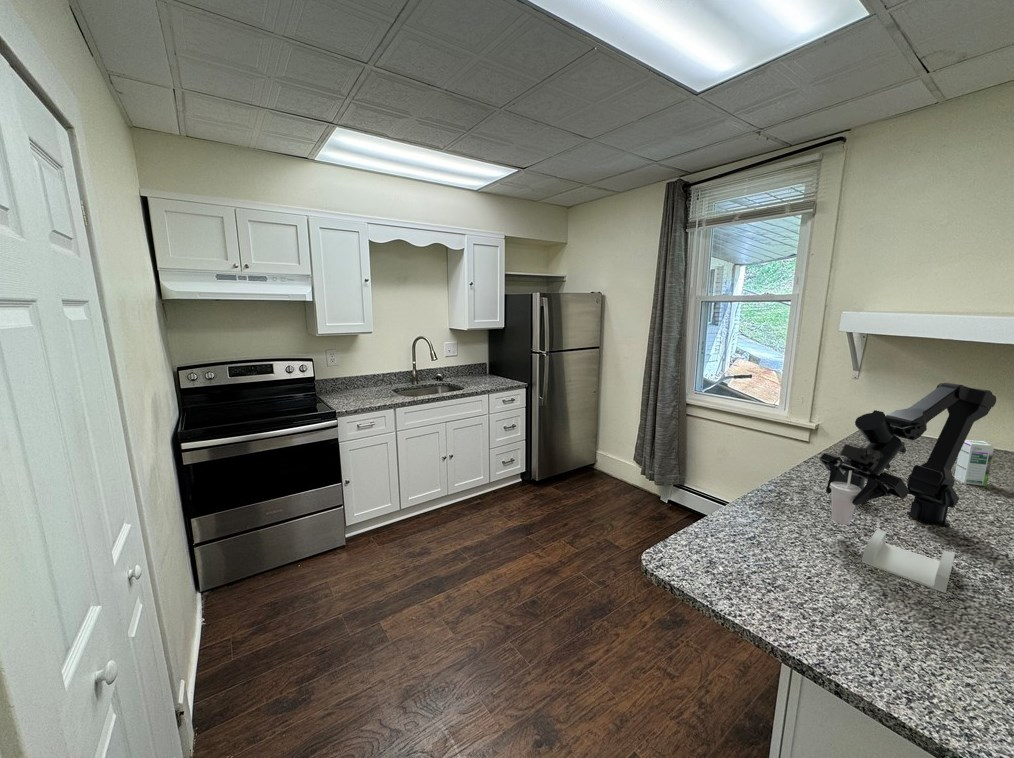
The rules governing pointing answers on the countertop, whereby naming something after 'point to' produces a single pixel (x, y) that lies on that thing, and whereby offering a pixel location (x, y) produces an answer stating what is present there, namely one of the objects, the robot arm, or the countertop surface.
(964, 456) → the syrup box
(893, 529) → the countertop surface
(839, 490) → the smoothie
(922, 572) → the sheet metal channel
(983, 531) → the countertop surface
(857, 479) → the supplement bottle
